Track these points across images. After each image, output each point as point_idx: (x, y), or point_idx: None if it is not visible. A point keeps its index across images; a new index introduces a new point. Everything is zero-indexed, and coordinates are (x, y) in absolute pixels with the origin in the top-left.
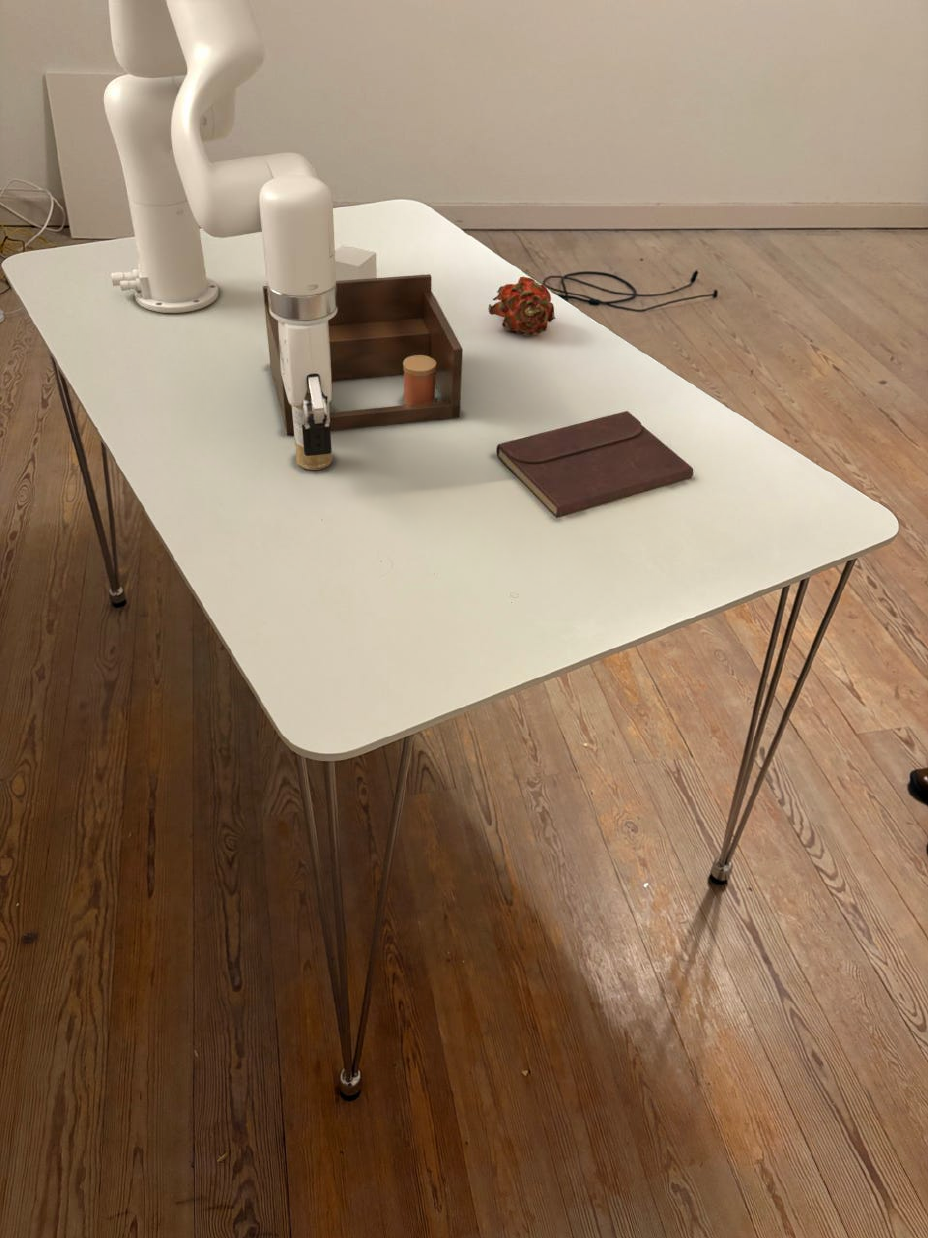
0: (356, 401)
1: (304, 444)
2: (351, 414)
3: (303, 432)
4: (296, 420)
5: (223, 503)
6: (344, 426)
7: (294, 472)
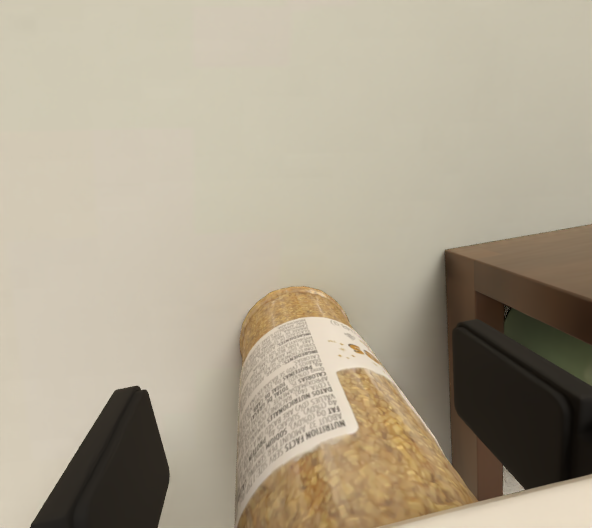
0: None
1: (94, 427)
2: (480, 454)
3: (55, 488)
4: (273, 400)
5: (33, 33)
6: (454, 411)
7: (237, 280)
